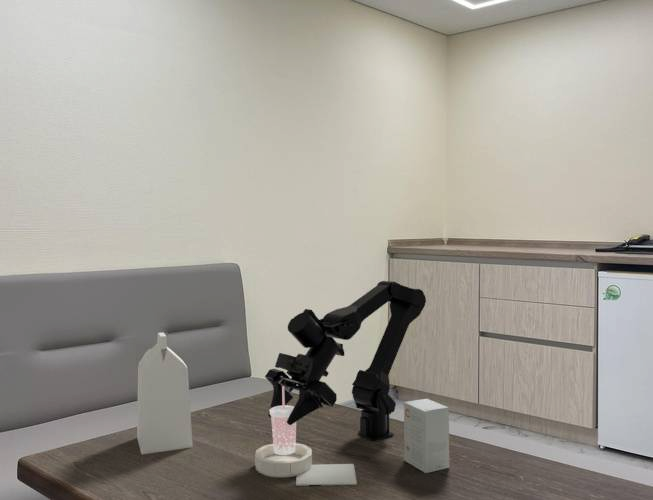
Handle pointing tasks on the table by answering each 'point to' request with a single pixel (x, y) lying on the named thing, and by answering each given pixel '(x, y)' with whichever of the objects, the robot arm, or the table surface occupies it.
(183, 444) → the milk
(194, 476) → the table surface
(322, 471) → the mat
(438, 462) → the small box
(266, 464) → the bowl
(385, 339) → the robot arm
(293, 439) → the beverage cup
